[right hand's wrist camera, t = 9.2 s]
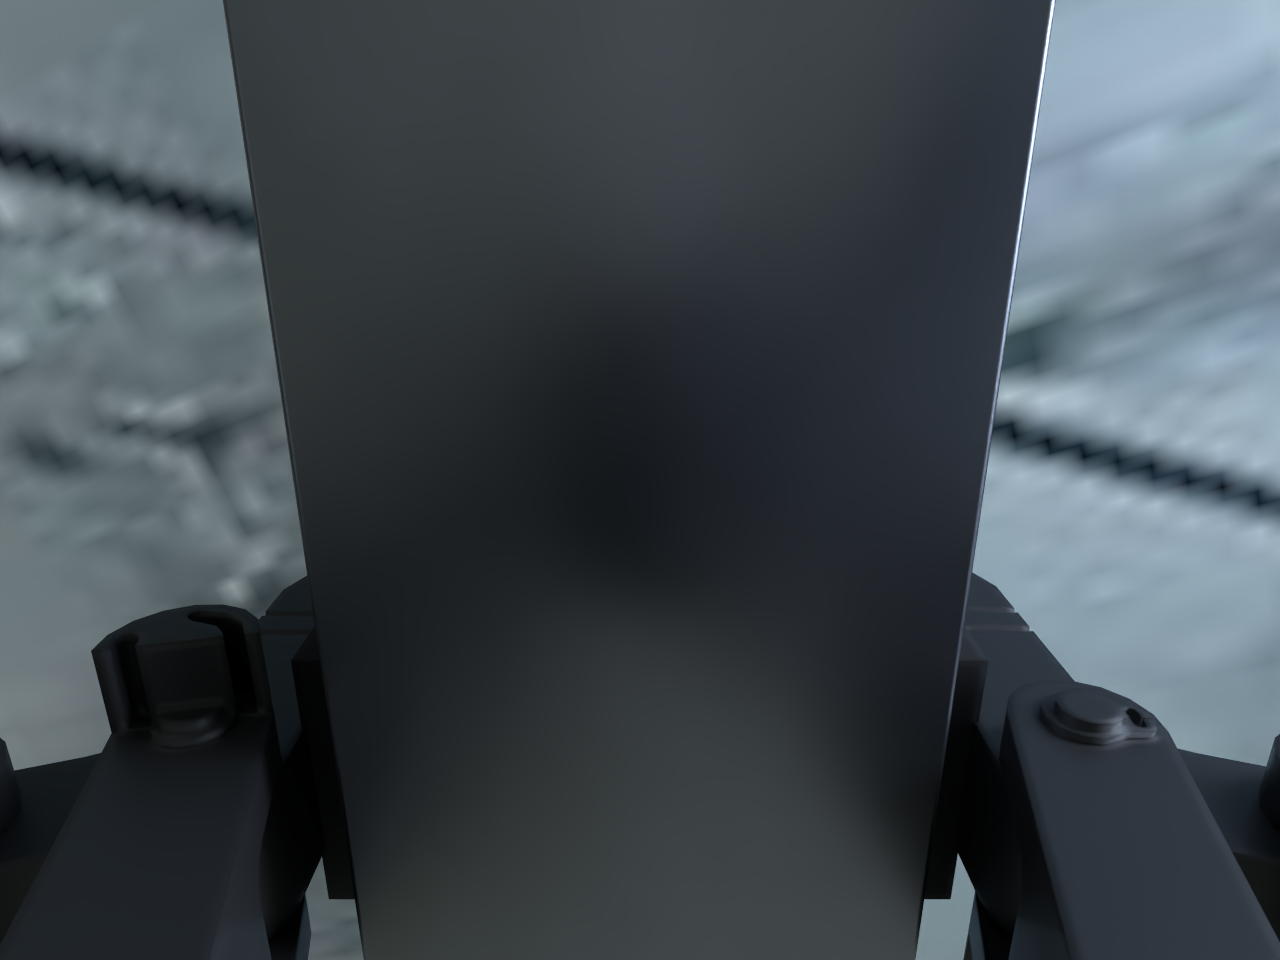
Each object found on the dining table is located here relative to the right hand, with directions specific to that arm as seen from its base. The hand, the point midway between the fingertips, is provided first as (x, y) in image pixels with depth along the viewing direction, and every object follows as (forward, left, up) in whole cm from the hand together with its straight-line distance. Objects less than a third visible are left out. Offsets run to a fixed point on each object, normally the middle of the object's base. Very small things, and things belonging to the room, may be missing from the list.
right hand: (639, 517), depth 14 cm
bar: (+10, 0, -1) cm, 10 cm away
